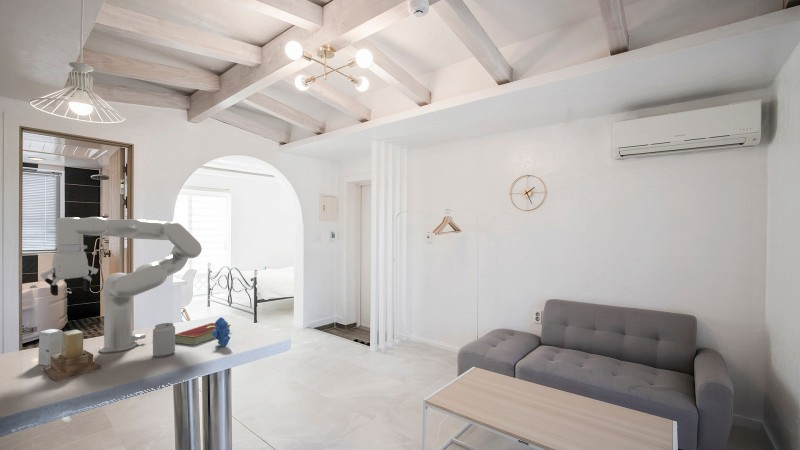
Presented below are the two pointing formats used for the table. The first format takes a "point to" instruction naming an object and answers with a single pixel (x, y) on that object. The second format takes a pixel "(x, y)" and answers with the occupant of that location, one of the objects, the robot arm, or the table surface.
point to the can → (163, 339)
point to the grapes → (221, 332)
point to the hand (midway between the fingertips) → (71, 293)
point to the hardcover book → (196, 334)
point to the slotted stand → (70, 366)
